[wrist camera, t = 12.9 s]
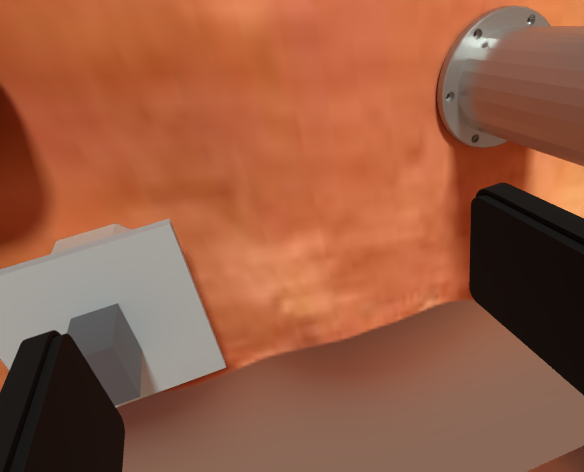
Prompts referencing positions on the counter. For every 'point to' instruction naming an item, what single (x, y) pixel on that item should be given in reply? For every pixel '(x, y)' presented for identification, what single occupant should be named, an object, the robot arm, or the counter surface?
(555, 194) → the counter surface
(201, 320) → the lid
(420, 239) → the counter surface
